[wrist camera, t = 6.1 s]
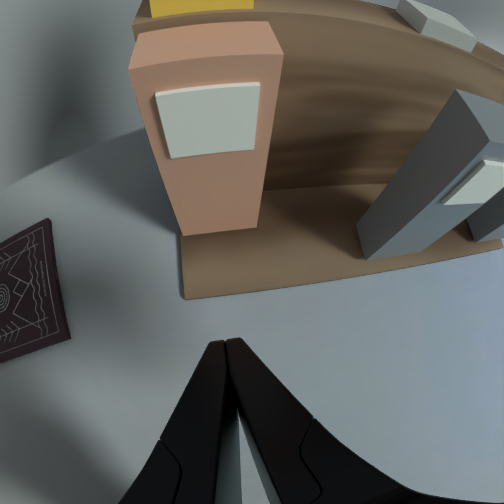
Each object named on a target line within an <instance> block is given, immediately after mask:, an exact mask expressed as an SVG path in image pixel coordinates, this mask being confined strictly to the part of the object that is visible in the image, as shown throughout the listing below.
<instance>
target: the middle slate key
mask: <svg viewBox="0 0 504 504" xmlns="http://www.w3.org/2000/svg"><path fill="white" fill-rule="evenodd" d="M502 188H504V105H502V104H500V103H497V102H494V101H492V100H489V99H486V98H483V97H480V96H477V95H474V94H471V93H468V92H465V91H462V90H458V89H455V90H454V92H453V93H452V95H451V96H450V98H449V99H448V101H447V102H446V104H445V105H444V107H443V108H442V110H441V111H440V113H439V114H438V116H437V117H436V118H435V120H434V121H433V123H432V124H431V126H430V127H429V129H428V130H427V131H426V133H425V134H424V136H423V137H422V139H421V140H420V141H419V143H418V144H417V145H416V147H415V148H414V150H413V151H412V152H411V154H410V155H409V156H408V158H407V159H406V161H405V162H404V163H403V165H402V166H401V167H400V169H399V170H398V171H397V173H396V174H395V175H394V177H393V178H392V179H391V181H390V182H389V183H388V185H387V186H386V187H385V188H384V190H383V191H382V192H381V194H380V195H379V196H378V197H377V199H376V200H375V201H374V203H373V204H372V205H371V206H370V208H369V209H368V210H367V211H366V213H365V214H364V215H363V216H362V218H361V219H360V220H359V221H358V223H357V224H356V225H355V226H356V229H357V233H358V236H359V240H360V243H361V247H362V251H363V254H364V258H365V261H369V260H376V259H382V258H388V257H395V256H401V255H407V254H414V253H419V252H421V251H422V250H424V249H425V248H426V247H428V246H429V245H431V244H432V243H433V242H435V241H436V240H438V239H439V238H440V237H442V236H443V235H444V234H446V233H447V232H448V231H450V230H451V229H452V228H454V227H455V226H456V225H458V224H459V223H460V222H462V221H463V220H464V219H466V218H467V217H468V216H469V215H471V214H472V213H473V212H474V211H476V210H477V209H478V208H480V207H481V206H482V205H483V204H484V203H486V202H487V201H488V200H489V199H491V198H492V197H493V196H494V195H495V194H497V193H498V192H499V191H500V190H501V189H502Z"/></svg>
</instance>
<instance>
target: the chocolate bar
mask: <svg viewBox="0 0 504 504" xmlns="http://www.w3.org/2000/svg"><path fill="white" fill-rule="evenodd" d="M68 339H71V336H70V332H69V328H68V324H67V319H66V315H65V310H64V306H63V301H62V296H61V290H60V285H59V279H58V273H57V266H56V259H55V252H54V243H53V234H52V223H51V220H50V219H49V218H46V219H44V220H42V221H41V222H39V223H37V224H35V225H33V226H31V227H29V228H27V229H25V230H23V231H22V232H20V233H18V234H16V235H14V236H12V237H11V238H9V239H7V240H5V241H4V242H2V243H0V363H2V362H5V361H8V360H11V359H14V358H17V357H20V356H23V355H26V354H29V353H32V352H34V351H37V350H40V349H43V348H46V347H49V346H51V345H54V344H57V343H60V342H63V341H66V340H68Z"/></svg>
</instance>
